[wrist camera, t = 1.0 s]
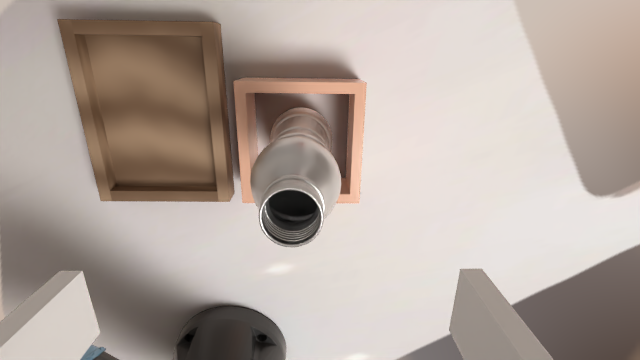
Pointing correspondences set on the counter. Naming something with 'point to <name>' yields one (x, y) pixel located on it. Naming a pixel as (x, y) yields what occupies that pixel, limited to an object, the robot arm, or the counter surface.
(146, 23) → the tray
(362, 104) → the wooden box frame
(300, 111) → the plastic bottle
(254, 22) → the counter surface
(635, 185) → the counter surface
